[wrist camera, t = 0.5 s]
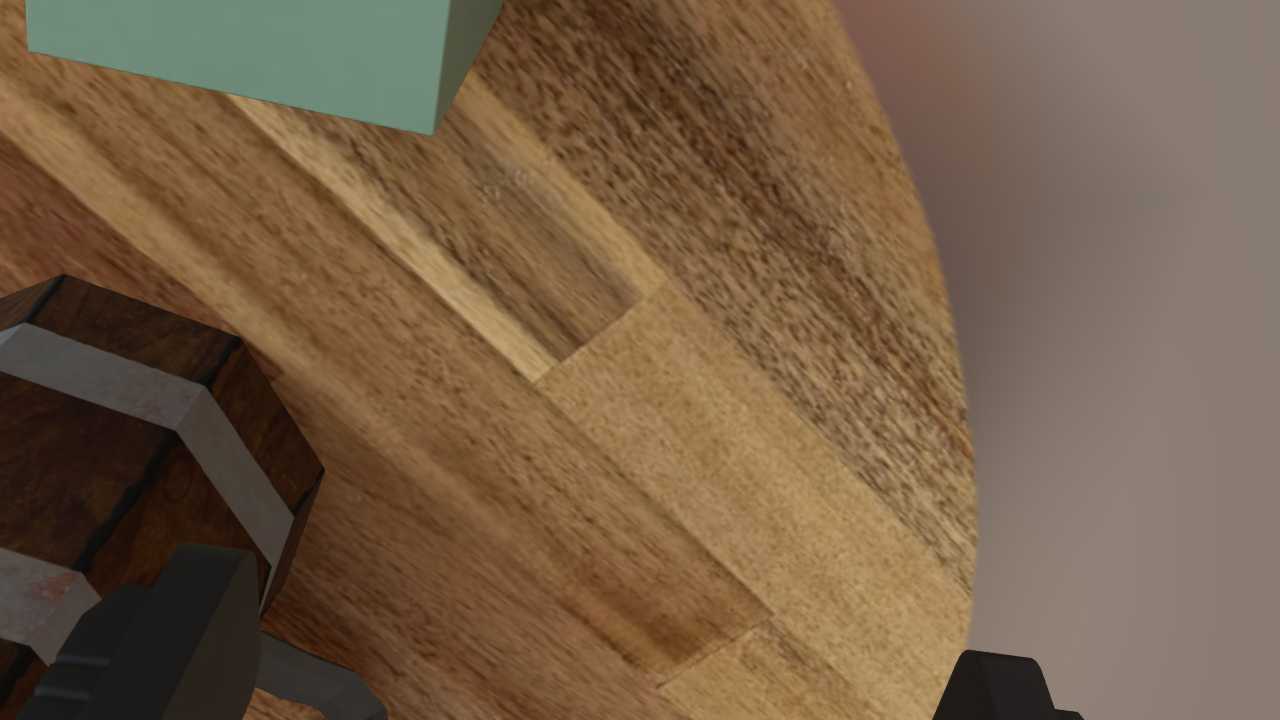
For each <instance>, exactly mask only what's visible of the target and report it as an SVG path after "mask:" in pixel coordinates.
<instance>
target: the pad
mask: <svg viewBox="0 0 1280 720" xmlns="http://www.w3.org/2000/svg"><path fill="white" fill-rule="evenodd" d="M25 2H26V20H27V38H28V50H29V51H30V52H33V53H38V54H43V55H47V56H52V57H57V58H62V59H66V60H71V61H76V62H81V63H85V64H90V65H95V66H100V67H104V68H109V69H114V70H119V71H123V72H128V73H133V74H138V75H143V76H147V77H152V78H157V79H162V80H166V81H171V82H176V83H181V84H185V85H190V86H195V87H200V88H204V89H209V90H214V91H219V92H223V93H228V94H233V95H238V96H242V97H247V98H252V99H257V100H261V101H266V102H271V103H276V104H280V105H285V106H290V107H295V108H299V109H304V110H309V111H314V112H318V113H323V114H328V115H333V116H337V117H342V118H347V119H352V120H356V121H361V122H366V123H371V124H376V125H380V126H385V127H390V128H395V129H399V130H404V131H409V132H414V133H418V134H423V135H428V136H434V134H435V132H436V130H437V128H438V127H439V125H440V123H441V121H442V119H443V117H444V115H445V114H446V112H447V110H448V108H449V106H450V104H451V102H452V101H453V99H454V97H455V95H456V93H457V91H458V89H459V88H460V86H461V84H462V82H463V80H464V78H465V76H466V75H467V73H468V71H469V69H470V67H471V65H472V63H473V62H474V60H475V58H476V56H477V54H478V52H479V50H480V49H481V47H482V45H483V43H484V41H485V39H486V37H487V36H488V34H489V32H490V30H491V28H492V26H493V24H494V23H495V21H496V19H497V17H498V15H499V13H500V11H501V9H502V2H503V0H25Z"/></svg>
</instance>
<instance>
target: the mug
mask: <svg viewBox="0 0 1280 720" xmlns="http://www.w3.org/2000/svg"><path fill="white" fill-rule="evenodd" d="M324 472H325V469H324V468H323V466H322V465H321V463H320V461H319V460H318V458H317V457H316V455H315V454H314V452H313V451H312V449H311V448H310V446H309V444H308V443H307V441H306V440H305V438H304V437H303V435H302V434H301V432H300V431H299V429H298V427H297V426H296V424H295V423H294V421H293V420H292V418H291V417H290V415H289V414H288V412H287V410H286V409H285V407H284V406H283V404H282V403H281V401H280V400H279V398H278V397H277V395H276V393H275V392H274V390H273V389H272V387H271V386H270V384H269V383H268V381H267V380H266V378H265V376H264V375H263V373H262V372H261V370H260V369H259V367H258V366H257V364H256V363H255V361H254V360H253V358H252V356H251V355H250V353H249V352H248V350H247V349H246V347H245V346H244V344H243V343H242V341H241V339H240V338H239V337H236V336H233V335H231V334H228V333H225V332H222V331H220V330H217V329H214V328H211V327H208V326H206V325H203V324H200V323H197V322H195V321H192V320H189V319H186V318H184V317H181V316H178V315H175V314H172V313H170V312H167V311H164V310H161V309H159V308H156V307H153V306H150V305H148V304H145V303H142V302H139V301H137V300H134V299H131V298H128V297H125V296H123V295H120V294H117V293H114V292H112V291H109V290H106V289H103V288H101V287H98V286H95V285H92V284H89V283H87V282H84V281H81V280H78V279H76V278H73V277H70V276H67V275H65V274H62V275H60V276H57V277H55V278H52V279H50V280H47V281H45V282H42V283H40V284H37V285H34V286H32V287H29V288H27V289H24V290H22V291H19V292H17V293H14V294H11V295H9V296H6V297H4V298H1V299H0V720H15V719H16V717H17V716H18V714H19V712H20V711H21V709H22V708H23V706H24V705H25V703H26V701H27V700H28V698H29V697H33V695H34V693H35V687H36V686H37V684H38V683H39V681H40V680H41V678H42V677H43V675H44V673H45V672H46V670H47V669H48V667H49V666H50V664H51V663H54V662H55V660H56V655H57V653H58V652H59V650H60V648H61V647H62V645H63V644H64V642H65V641H66V639H67V638H68V636H69V634H70V633H71V631H72V630H73V628H74V627H75V625H76V623H77V622H78V620H79V619H80V617H81V616H82V615H83V614H84V613H85V612H86V611H88V610H89V609H90V608H92V607H93V606H94V605H95V604H97V603H98V602H99V601H101V600H102V599H103V598H105V597H106V596H107V595H108V594H110V593H111V592H112V591H114V590H115V589H116V588H117V587H119V586H120V585H121V584H123V583H130V584H137V585H145V586H152V587H154V585H155V583H156V582H157V580H158V578H159V577H160V575H161V573H162V571H163V570H164V568H165V566H166V565H167V563H168V561H169V559H170V558H171V556H172V554H173V553H174V551H175V550H176V548H177V547H178V546H179V545H180V544H182V543H183V542H191V543H198V544H206V545H213V546H221V547H228V548H236V549H243V550H250V551H253V552H254V554H255V557H256V562H257V577H258V595H259V612H260V620H261V619H262V617H263V616H264V614H265V613H266V611H267V609H268V608H269V606H270V605H271V603H272V602H273V600H274V599H275V597H276V595H277V594H278V592H279V591H280V589H281V588H282V586H283V584H284V583H285V580H286V577H287V574H288V571H289V569H290V566H291V563H292V560H293V558H294V555H295V552H296V549H297V547H298V544H299V541H300V538H301V535H302V533H303V530H304V527H305V524H306V522H307V519H308V516H309V513H310V511H311V508H312V505H313V502H314V499H315V497H316V494H317V491H318V488H319V486H320V483H321V480H322V477H323V475H324ZM260 630H261V658H260V665H259V671H258V676H257V680H256V684H255V687H258V688H260V689H262V690H264V691H266V692H269V693H271V694H273V695H275V696H277V697H280V698H284V699H287V700H291V701H295V702H298V703H302V704H305V705H309V706H313V707H316V708H319V709H320V711H321V712H322V713H323V714H324V715H325V717H326V718H327V719H328V720H388V715H387V709H386V708H385V707H384V705H383V704H382V703H381V702H380V701H379V699H378V698H377V697H376V696H375V694H374V693H373V692H372V691H371V690H370V688H369V687H368V686H367V685H366V684H365V682H364V681H363V680H362V679H361V678H360V676H359V675H358V674H357V673H356V672H355V671H354V670H352V669H350V668H347V667H345V666H342V665H340V664H337V663H335V662H332V661H330V660H327V659H325V658H322V657H320V656H317V655H315V654H312V653H310V652H308V651H306V650H303V649H301V648H299V647H297V646H295V645H293V644H291V643H289V642H287V641H285V640H283V639H281V638H278V637H276V636H274V635H272V634H270V633H268V632H266V631H264V630H262V629H260Z"/></svg>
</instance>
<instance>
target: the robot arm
mask: <svg viewBox="0 0 1280 720" xmlns="http://www.w3.org/2000/svg"><path fill="white" fill-rule="evenodd" d="M260 658H261V630H260V612H259V595H258V577H257V562H256V557H255V554H254V552H253V551H250V550H243V549H236V548H228V547H221V546H213V545H206V544H198V543H191V542H183V543H182V544H180V545H179V546H178V547H177V548H176V550H175V551H174V553H173V554H172V556H171V558H170V559H169V561H168V563H167V565H166V566H165V568H164V570H163V571H162V573H161V575H160V577H159V578H158V580H157V582H156V583H155V585H154V587H152V586H145V585H137V584H130V583H123V584H121V585H120V586H119V587H117V588H116V589H115V590H114V591H112V592H111V593H110V594H108V595H107V596H106V597H105V598H103V599H102V600H101V601H99V602H98V603H97V604H95V605H94V606H93V607H92V608H90V609H89V610H88V611H86V612H85V613H84V614H83V615H82V616H81V617H80V619H79V620H78V622H77V623H76V625H75V627H74V628H73V630H72V631H71V633H70V634H69V636H68V638H67V639H66V641H65V642H64V644H63V645H62V647H61V648H60V650H59V652H58V653H57V655H56V660H55V662H54V663H51V664H50V666H49V667H48V669H47V670H46V672H45V673H44V675H43V677H42V678H41V680H40V681H39V683H38V684H37V686H36V687H35V693H34V695H33V697H29V698H28V700H27V701H26V703H25V705H24V706H23V708H22V709H21V711H20V712H19V714H18V716H17V717H16V719H15V720H242V719H243V717H244V714H245V712H246V710H247V707H248V705H249V703H250V700H251V697H252V694H253V691H254V688H255V684H256V680H257V676H258V671H259V665H260ZM932 720H1084V719H1083V718H1082V717H1081V715H1080V714H1079V713H1078V712H1073V711H1066V710H1058V709H1055V708H1054V705H1053V702H1052V700H1051V697H1050V693H1049V691H1048V688H1047V685H1046V682H1045V679H1044V676H1043V673H1042V671H1041V668H1040V666H1039V665H1038V663H1037V662H1036V661H1035V660H1034V659H1032V658H1027V657H1019V656H1012V655H1004V654H997V653H990V652H982V651H975V650H965V651H964V652H963V653H962V654H961V655H960V657H959V659H958V661H957V663H956V665H955V667H954V670H953V672H952V674H951V677H950V679H949V682H948V684H947V686H946V689H945V691H944V693H943V696H942V698H941V700H940V703H939V705H938V707H937V710H936V712H935V714H934V717H933V719H932Z"/></svg>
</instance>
